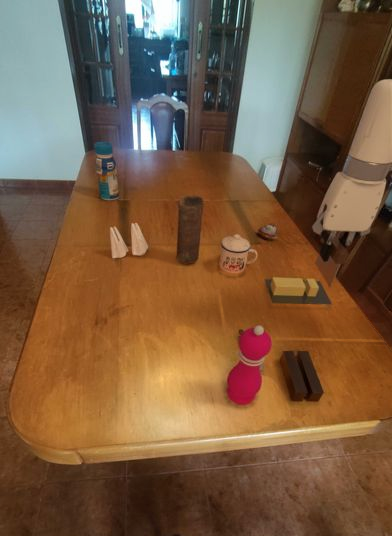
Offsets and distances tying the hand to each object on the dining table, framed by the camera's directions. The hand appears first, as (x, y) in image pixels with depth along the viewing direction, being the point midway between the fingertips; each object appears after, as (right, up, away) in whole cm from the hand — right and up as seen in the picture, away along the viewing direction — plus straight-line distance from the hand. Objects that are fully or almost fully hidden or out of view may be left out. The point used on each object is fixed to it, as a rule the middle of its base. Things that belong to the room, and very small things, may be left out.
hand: (329, 258), depth 71 cm
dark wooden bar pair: (-6, -28, +2) cm, 28 cm away
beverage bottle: (-68, +45, +66) cm, 105 cm away
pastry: (-3, +23, +51) cm, 56 cm away
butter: (-3, -3, +25) cm, 25 cm away
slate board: (+1, -4, +26) cm, 26 cm away
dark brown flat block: (0, -3, +3) cm, 4 cm away
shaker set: (-52, +11, +35) cm, 64 cm away
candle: (-33, +9, +35) cm, 49 cm away
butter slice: (+4, -3, +25) cm, 26 cm away
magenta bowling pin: (-17, -21, +8) cm, 28 cm away
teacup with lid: (-17, +6, +34) cm, 38 cm away
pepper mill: (-20, -30, -1) cm, 36 cm away
